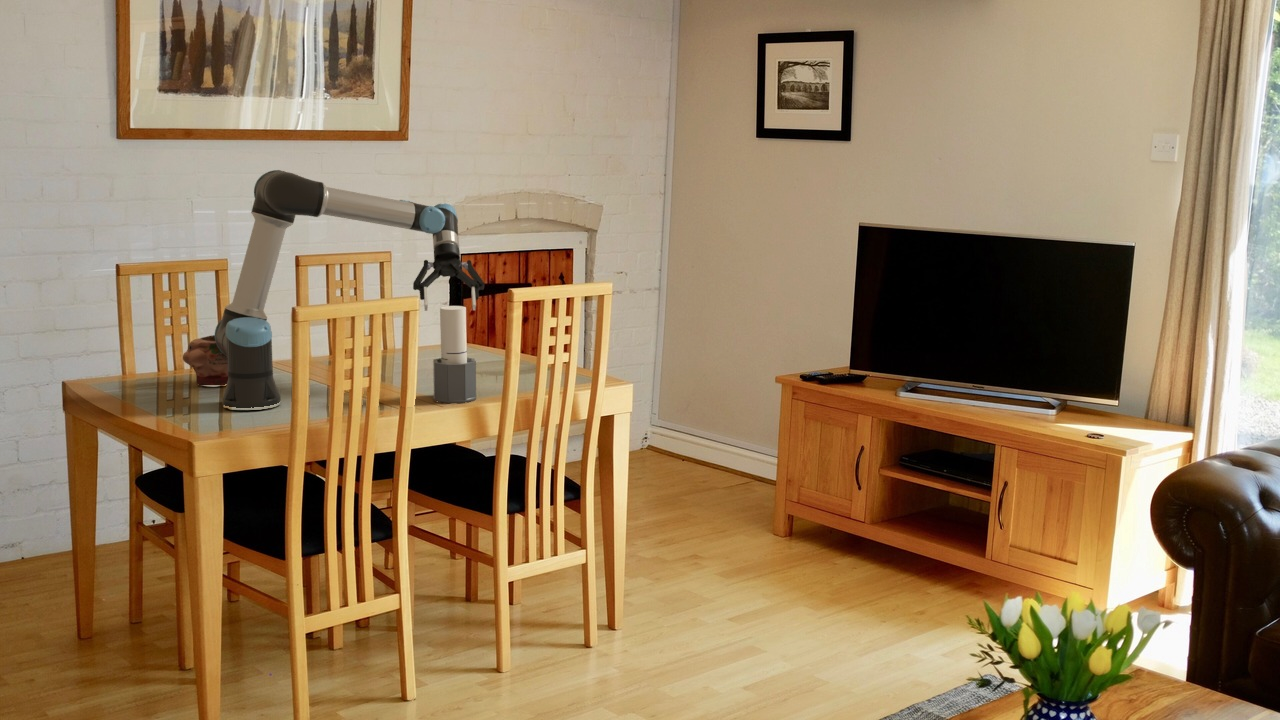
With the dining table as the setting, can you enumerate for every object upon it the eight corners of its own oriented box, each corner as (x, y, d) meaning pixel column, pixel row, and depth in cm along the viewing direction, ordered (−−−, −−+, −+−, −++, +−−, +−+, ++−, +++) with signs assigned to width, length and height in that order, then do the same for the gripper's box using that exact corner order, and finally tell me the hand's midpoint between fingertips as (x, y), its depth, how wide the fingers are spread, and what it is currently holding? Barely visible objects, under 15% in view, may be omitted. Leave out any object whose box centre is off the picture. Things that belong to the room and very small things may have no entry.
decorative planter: (249, 377, 373) (247, 332, 370) (260, 385, 362) (258, 338, 360) (180, 383, 362) (178, 336, 360) (189, 391, 352) (186, 343, 349)
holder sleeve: (434, 404, 342) (434, 365, 339) (432, 394, 353) (431, 357, 351) (478, 402, 344) (478, 364, 342) (474, 393, 356) (473, 356, 354)
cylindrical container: (462, 398, 344) (460, 310, 340) (438, 397, 346) (436, 309, 341) (471, 393, 351) (469, 306, 346) (447, 391, 353) (445, 305, 348)
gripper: (488, 257, 368) (493, 315, 356) (403, 257, 362) (405, 315, 351) (489, 241, 362) (495, 299, 350) (403, 241, 356) (406, 299, 345)
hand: (450, 307), depth 351 cm, fingers open, 13 cm apart
